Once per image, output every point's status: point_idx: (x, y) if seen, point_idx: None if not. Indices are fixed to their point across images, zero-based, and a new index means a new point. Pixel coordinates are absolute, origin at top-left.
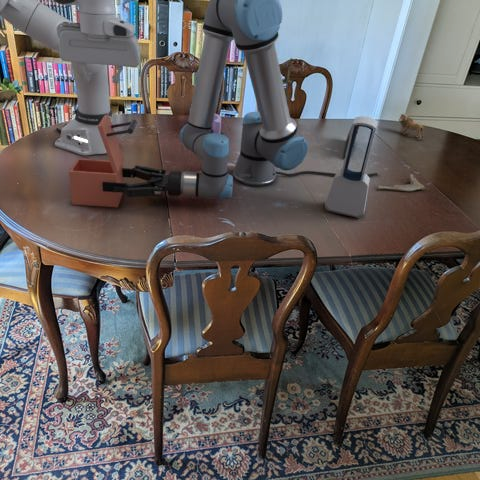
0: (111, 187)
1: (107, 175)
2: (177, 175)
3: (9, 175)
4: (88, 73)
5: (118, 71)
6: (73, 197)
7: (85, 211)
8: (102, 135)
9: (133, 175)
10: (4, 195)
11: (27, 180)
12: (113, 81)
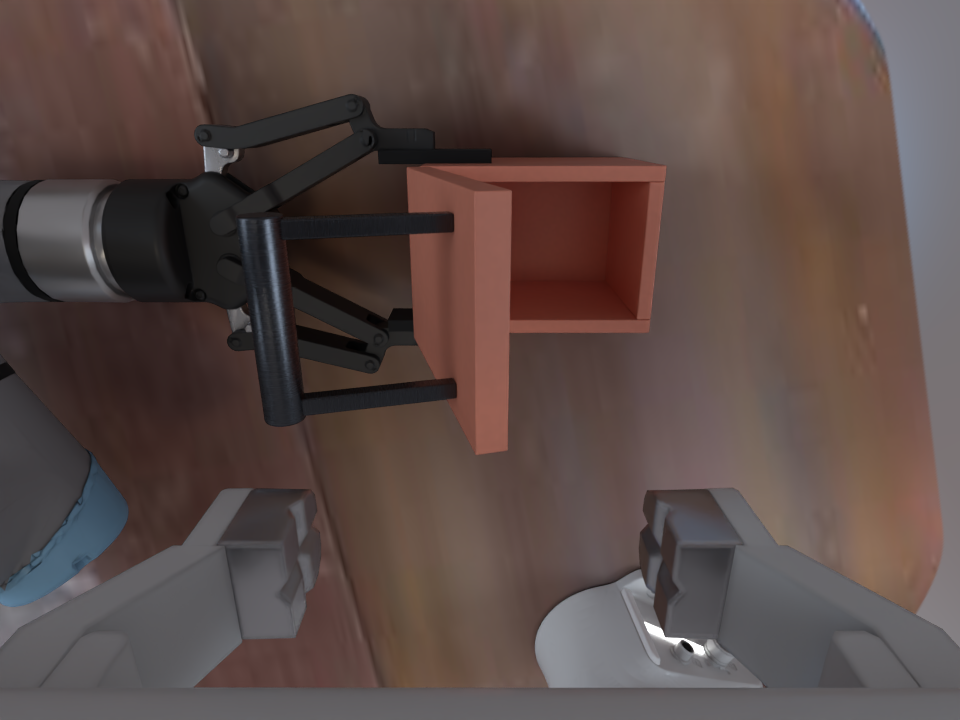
0: (448, 149)
1: (465, 166)
2: (114, 225)
3: (905, 373)
4: (707, 583)
5: (102, 609)
6: (622, 158)
7: (559, 104)
8: (475, 184)
9: (383, 319)
10: (904, 202)
11: (831, 342)
12: (290, 494)
